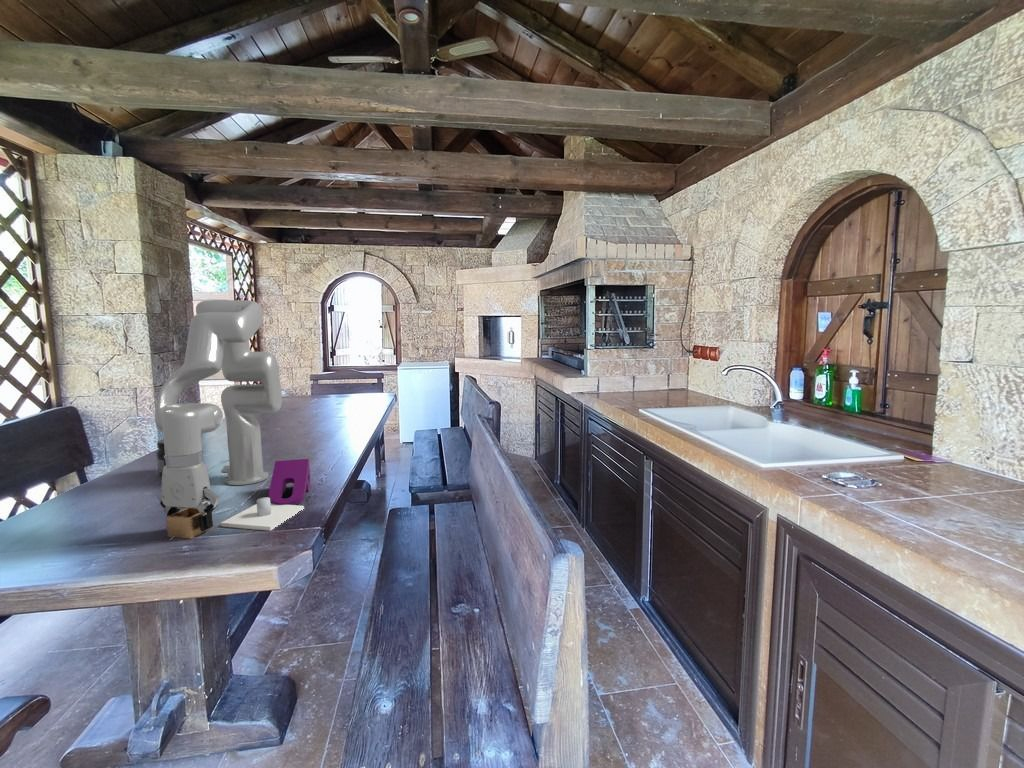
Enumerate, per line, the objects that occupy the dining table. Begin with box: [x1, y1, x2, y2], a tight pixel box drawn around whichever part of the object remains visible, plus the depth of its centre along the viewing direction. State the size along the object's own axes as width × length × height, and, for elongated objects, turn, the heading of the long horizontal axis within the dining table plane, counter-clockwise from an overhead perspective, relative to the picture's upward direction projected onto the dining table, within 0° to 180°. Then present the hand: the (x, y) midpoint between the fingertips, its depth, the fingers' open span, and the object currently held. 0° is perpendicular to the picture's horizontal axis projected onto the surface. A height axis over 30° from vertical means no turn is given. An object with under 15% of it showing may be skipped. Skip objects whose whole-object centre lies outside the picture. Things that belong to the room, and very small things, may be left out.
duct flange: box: [220, 496, 305, 532], centre depth 127 cm, size 14×14×5 cm
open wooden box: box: [165, 507, 214, 539], centre depth 118 cm, size 7×7×5 cm
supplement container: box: [155, 438, 166, 478], centre depth 163 cm, size 10×10×12 cm
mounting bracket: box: [268, 458, 311, 505], centre depth 142 cm, size 10×8×18 cm
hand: (190, 527), depth 118 cm, fingers open, 8 cm apart
